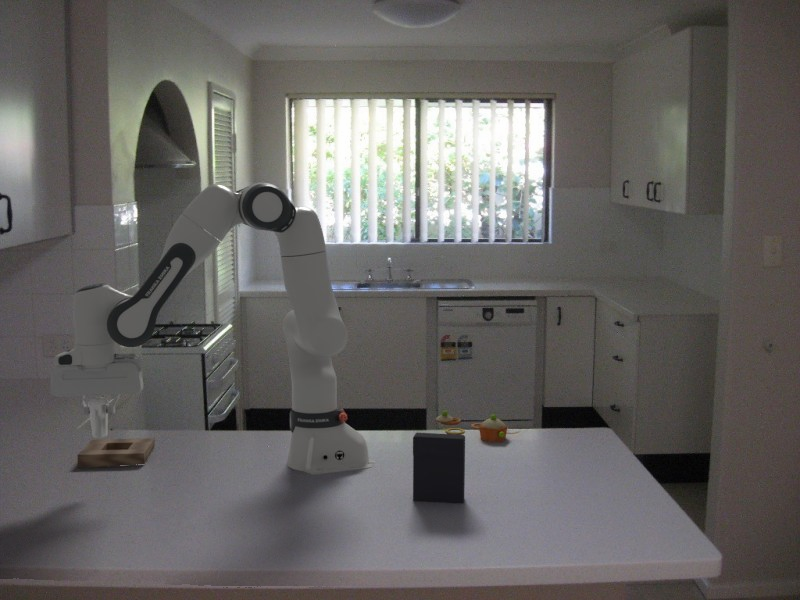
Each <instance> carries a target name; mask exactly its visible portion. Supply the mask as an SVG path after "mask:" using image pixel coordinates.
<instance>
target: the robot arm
mask: <svg viewBox="0 0 800 600" xmlns="http://www.w3.org/2000/svg"><path fill="white" fill-rule="evenodd" d="M320 222H321V221H320V219H319V216H318V214H317V212H316V211H314V209H312V208H310V207H307V206H294V204H293V203H292V201H291V200H290V199H289V196H287V195H286V193H285V192H284V190H282V189H281V188H279V187H278V185H277V186H276V185H275V184H272V183H269V182H268V183H267V182H255V183H253V184H250V185H248V186H245V187H244V188H242V189H239V190H236V191H233V190H232V189H230V188H229V187H227V186H225V185H222V184H216V183H215V184H210V185H208V186H207V187H205V188H204V189H203V190H201V192H199V193H198V195H196V197H195V198H194V199H192V201H191V202H190V203H189V204H188V205H187V207H186V208H185V209H184V210H183V211H182V213H181V214H180V215H179V216H178V218H177V220H176V221H175V222H174V225H173V226H172V228H171V230H170V232H169V234H168V236H167V238H166V240H165V244H164V248H163V252H162V254H161V256H160V259H159V261H158V263H157V264H156V267H155V268H154V269H153V271H151V273H150V274H149V276H148V277H147V278H146V279H145V281H144V282H143V284H142V285H141V286H140V288H139V289H138V290H137V292H136V293H134V294H133V295H132V294H129V293H128V294H127V293H125V292H122V291H120V290H117V289H116V288H114V287H112V286H110V285H109V284H108V283H103V282H102V283H96V284H91V285H86V286H84V287H81V288H79V289H77V291H76V292H75V293H74V295H73V299H72V325H73V328H74V330H75V331H74V333H75V336H74V337H75V338H74V343H73V344H74V348H70V349H68V350H65V351H63V352H61V353H59V354H57V355H55V356H54V358H53V365H54V366H55V367H53V368H52V370H51V372H50V373H51V374H50V387H49V388H50V394H51V395H52V396H53V397H55V398H56V397H57V398H59V397H61V398H62V397H63V398H64V397H76V398H75V399H76V402H77V403H78V405H79V406H80V408H81V412H82V415H83V416H86V415H89V416H90V413H89V408H88V404H86V402H85V398H86V397H87V396H89V397H90V396H91V397H92V396H102V395H104V396H110V397H111V398H110V399H111V400H112V403H111V404H108V406H107V410H108V411H107V414H108V415H110V414H111V415H112V414H113V415H115V413H116V405H117V403H118V401H119V399H120V395H137V394H139V393H140V392H141V391H142V390H143V389H144V380H143V374H142V371H143V368H144V367H143V364H144V363H143V360H142V357H141V356H139V355H136V353H117V351H116V344H118V345H120V346H121V347H124V348H125V347H126V348H137V347H140V346H142V345H144V344H146V343H147V342H148V341H149V340H150V339H152V336H153V335H154V332H155V328H156V325H157V324H156V323H157V319H158V316H159V313H160V311H161V310H162V308H163V307H164V305H166V303H167V302H168V299H170V297H171V296H172V294H173V293H174V291H175V290H176V289H177V287H178V286H179V285H180V284H181V282H182V281H184V279H185V278H186V277H187V276H188V275H189V274H190V273H191V272H192V271H194V270H195V269H196V268H197V267H199V266H200V265H201V264H202V263H203V262H204V261H206V259H208V258H209V256H211V255H212V254H213V252H215V250H216V249H217V248H218V246H219V245H220V244H221V242H222V241H223V240H224V239H225V237H226V236H227V235H228V233H229V232H230V231H231V230H232V229H233V228H234V227H235V226H237V225H240V224H242V225H245V226H248V227H250V228H252V229H254V230H257V231H269V232H272V233H274V235H275V236H276V237H277V241H278V245H279V253H280V260H281V268H282V275H283V276H282V277H283V281H284V283H283V284H284V287H285V291H286V292H287V295H288V298H289V300H290V303H291V307H292V309H291V310H290V311H289V312H287V313H286V315H285V316H284V318H283V322H282V333H283V335H284V339H285V344H286V351H287V357H288V362H289V363H288V365H289V369H290V377H291V408H290V412H289V429H290V432H291V433H290V434H291V435H290V443H289V451H288V455H287V459H286V462H285V463H286V466H287V467H289V468H290V469H292V470H295V471H300V472H305V473H307V474H309V475H313V476H314V475H315V476H316V475H321V474H322V475H323V474H331V473H339V472H347V471H358V470H365V469H371V468H372V467H373V468H374V466H375V465H376V464H377V460H373V459H372V458H370V457H369V449H368V444H367V441H366V439H365V437H364V436H363V435H362V433H360V432H359V431H358V430H356V429H355V428H353V427H351V426H350V425H349V424H347V423H346V422H347V420H348V414H347V413H346V412H345V410H344V409H343V408H342V407H341V408H340V407H338V405H337V404H338V398H337V397H338V395H337V394H338V391H337V390H338V389H337V388H338V387H337V383H338V382H337V380H338V378H337V373H336V372H335V369H334V365H333V362H332V361H333V360H332V357H333V356H336V355H338V354H340V353H341V352H342V351H343V350H344V349H345V347H346V345H347V343H348V339H349V333H348V332H349V331H348V328H347V327H346V325H345V323H344V320H343V319H342V315H341V313H340V309H339V305H338V303H337V299H336V296H335V293H334V290H333V286H332V281H331V277H330V270H329V263H328V255H327V248H326V246H327V245H326V240H325V237H324V233H323V227H322V224H321V223H320Z"/></svg>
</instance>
